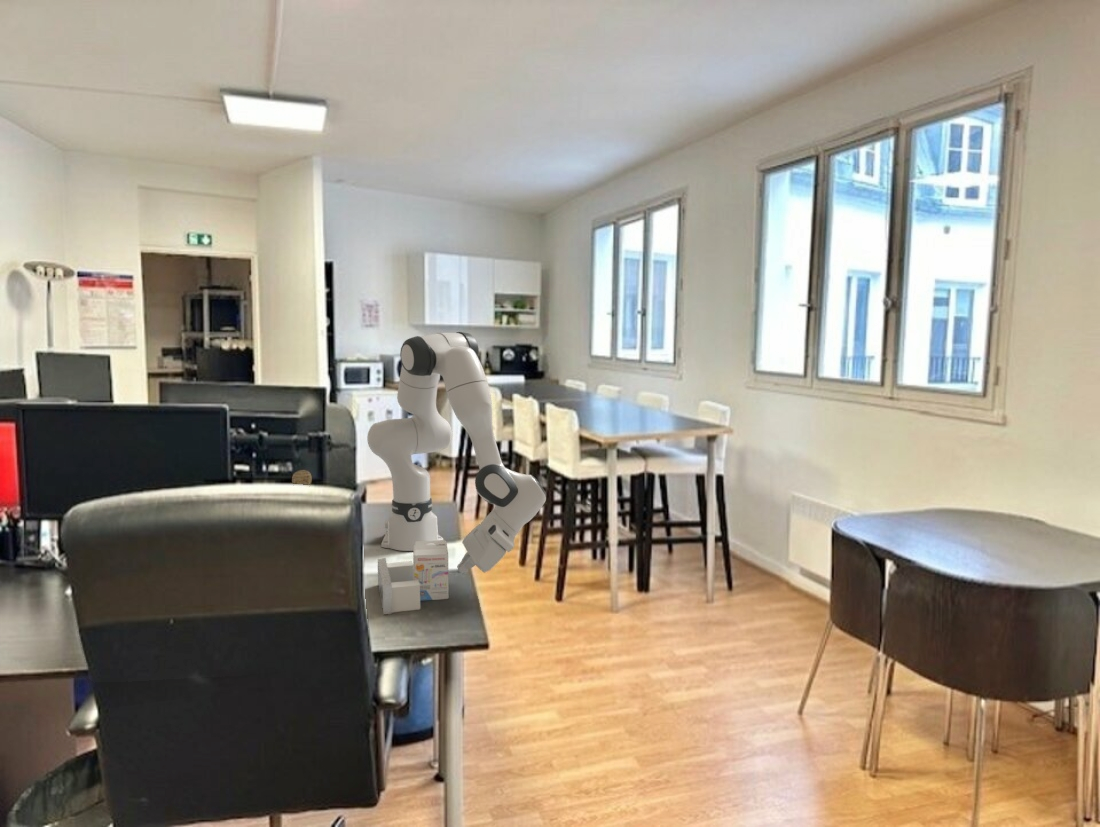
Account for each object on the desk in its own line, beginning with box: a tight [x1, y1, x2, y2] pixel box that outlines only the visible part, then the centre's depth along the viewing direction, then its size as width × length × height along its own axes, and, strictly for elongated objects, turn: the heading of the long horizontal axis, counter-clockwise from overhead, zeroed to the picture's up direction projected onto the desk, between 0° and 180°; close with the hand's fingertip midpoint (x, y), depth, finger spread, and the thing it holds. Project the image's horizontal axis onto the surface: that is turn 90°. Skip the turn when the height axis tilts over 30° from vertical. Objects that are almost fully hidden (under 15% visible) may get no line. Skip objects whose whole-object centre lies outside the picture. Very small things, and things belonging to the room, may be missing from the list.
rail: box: [377, 557, 393, 615], centre depth 178 cm, size 20×2×7 cm, turn 17°
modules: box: [386, 560, 421, 613], centre depth 179 cm, size 18×7×6 cm, turn 17°
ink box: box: [412, 539, 450, 602], centre depth 180 cm, size 9×8×13 cm
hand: (459, 570), depth 183 cm, fingers closed
